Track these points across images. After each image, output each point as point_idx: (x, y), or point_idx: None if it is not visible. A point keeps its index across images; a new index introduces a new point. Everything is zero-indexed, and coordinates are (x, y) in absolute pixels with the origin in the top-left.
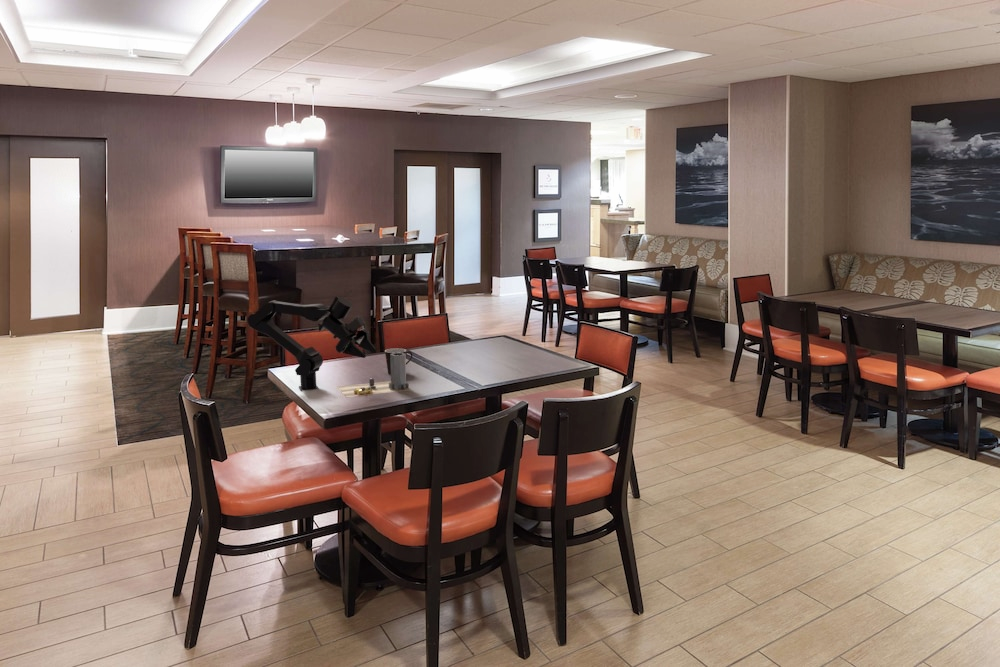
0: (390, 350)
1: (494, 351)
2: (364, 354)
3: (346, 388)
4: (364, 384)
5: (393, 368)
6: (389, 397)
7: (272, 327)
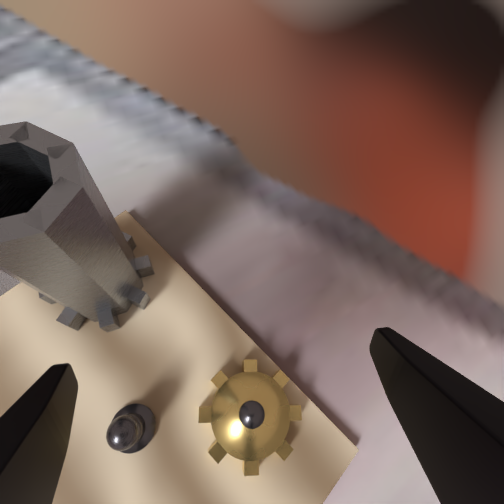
0: None
1: None
2: (398, 338)
3: None
4: None
5: (110, 247)
6: (247, 264)
7: None
